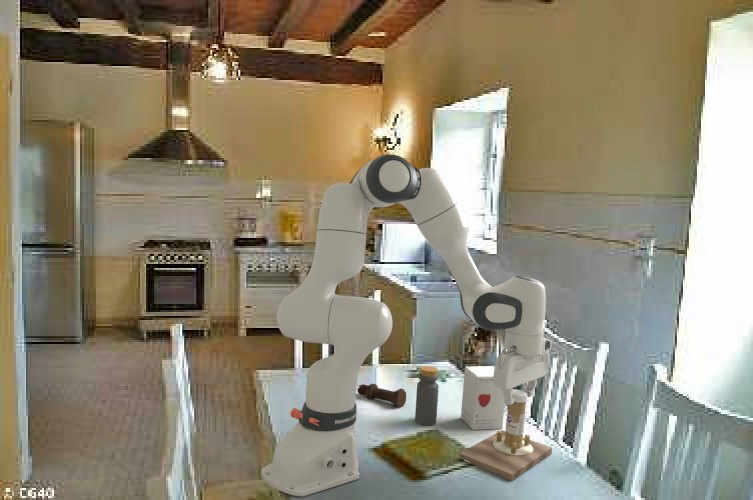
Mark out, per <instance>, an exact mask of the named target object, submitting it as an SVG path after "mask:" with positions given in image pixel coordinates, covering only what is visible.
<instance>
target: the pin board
mask: <svg viewBox="0 0 753 500" xmlns="http://www.w3.org/2000/svg"><path fill="white" fill-rule="evenodd" d="M505 432H506V430H504V429H501V430H498V431H497V432H496V433H494V434H492V435H490V436H489V437H487V438H485V439H483V440H481V441H479V442H477V443H476V444H474V445H472V446H471V447H468V448H466V449H465V450H462V451H461V452H459V456H460V457H461V458H463V459H465V460H467V461H469V462H470V463H471V464H470V463H469V464H470V465H472V466H475V467H477V468H479V469H482V470H484V471H487V472H490V473H491V474H494V475H497V476H499V477H502V478H504V479H506V480H508V481H514V480H516V479H517V478H519V477H520V476H521V475H523V474H525V473H526V472H527V471H529V470H531V469H532V468H533V467H535V466H536V465H538V464H539V463H540V462H542V461H543V460H545V459H546V458H548V457H549V456H550V455H552V454H553V447H552V446H548V445H546V444H542V443H540V442H537V441H534V440H531V435H530V434H524V437H523V440H522V443H523V445H522V446H521V447H519V448H516V447H517V444H516V443H512V445H511V447H509V446H507V445H506V444H505V443H504V440H505ZM459 456H458V457H459Z"/></svg>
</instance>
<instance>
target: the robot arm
mask: <svg viewBox="0 0 753 500" xmlns="http://www.w3.org/2000/svg"><path fill="white" fill-rule="evenodd" d="M395 204H399V205H402V206H403V207H405V209H407V211H408V212H409V213H410V215H411V217H412V219H413V220H414V222H415V225H416V226H417V228H418V230H419V231H420V233H421V235H422V236H423V238H424V239H425V240H426V242H427V243H428V244H429V245H430V246H431V247H432V249H434V251H435V252H436V253H437V254H438V255H439V256H440V257H441V259H443V261H444V263H445V265H446V266H447V268H448V270H449V272H450V274H451V276H452V277H453V279H454V281H455V284H456V286H457V288H458V290H459V301H460V306H461V311H462V312H463V314H464V315H465V316H466V317H467V318H468V319H470V320H471V321H473V322H474V323H475V324H476V325H477V326H479V327H480V328H482V329H483V330H488V331H499V330H505V337H504V348H503V349H502V351H501V353H500V354H499V355H498V356H497V358H496V360H495V363H494V364H495V365H494V367H495V368H494V375H493V384H494V386H495V387H497V388H500V389H502V391H503V394H504V403H505V405H507V406H508V405H512V404H513V403H514V397H512V391H513V390H514V388H516V387H519V386H521V385H524V384H526V383H527V384H526V387H525V388H524V392H526V393H527V398H530V397H534V395H535V389H536V386H537V384H538V379H540V378H542V377H545V376H546V375H547V372H548V371H549V370H548V369H549V363H550V350H551V349H552V344H553V343H552V340H551V339H548V338H546V337H544V335H545V334H544V333H545V332H544V326H543V323H544V320H545V317H546V308H547V307H546V306H547V305H546V304H547V301H546V300H547V297H546V296H547V294H546V288H545V285H544V283H542V282H541V281H540V280H538V279H536V278H532V277H528V276H525V275H513V276H512V277H511V278H509V279H508V280H507V281H505V282H503V283H499V284H497V285H495V286H493V285H492V284H490V283H489V282H487V281H486V280H485V279H484V278H483V276H482V275H481V274H480V272H479V269H478V267H477V266H476V264H475V261H474V259H473V258H472V255H471V254H470V252H469V249H468V245H467V242H468V241H467V240H468V235H469V231H470V230H469V225H468V221H467V217H466V215H465V213H464V210H463V208H462V205H460V202H459V201H458V199H457V197H456V196H455V194H454V192H453V190H452V189H451V188H450V186H449V185H448V184H447V182H446V181H445V179H444V178H443V177H442V176H441V174H439V172H438V171H437V170H436V169H435V168H431V167H422V168H418V167H416V166H414V165H413V164H412V163H410V162H409V161H408V160H406V159H405V158H404V157H401V156H400V155H397V154H390V153H387V154H383V155H379V156H378V157H376V158H374V159H371V160H369V161H367V163H365V164H364V165H363V166H362V167H361V168H360V169H359V170H358V171H357V172H356V173H355V175H354V176H353V177H352V179H351V180H350V182H349V183H348V182H338V183H334V184H332V185H331V186H329V187H328V188H327V189H326V190H325V192H324V194H323V199H322V200H321V204H320V205H321V206H320V209H319V213H318V219H317V220H318V221H317V228H316V238H315V247H314V254H313V259H312V263H311V267H310V269H309V272H308V274H307V275H306V277H305V279H304V280H303V281H302V283H301V284H300V285H299V286H298V287H297V288H296V289H295V290H293V291H292V292H291V293H289V294H288V295H286V296H285V297H284V298H283V299H282V301H281V302H280V303H279V305H278V307H277V310H276V311H277V312H276V323H277V326H278V329H279V330H280V332H281V334H282V335H283V337H287V338H290V339H293V340H296V341H300V342H304V343H313V344H323V345H330V346H334V353H333V354H331V355H329V356H326V357H324V358H321V359H319V360H317V361H314V363H313V364H311V365H310V367H309V368H308V370H307V373H306V388H305V401H304V403H303V406H302V409H301V410H300V409H297V408H296V407H294V408H292V409H291V411H290V413H289V414H290V417H291V418H293V419H296V420H298V422H297V423H296V424H295V426H294V427H292V429H291V430H289V432H288V433H287V434H286V435H285V436H284V437H283V438H282V439H281V441H279V443H278V444H277V445H276V446H275V448H274V450H273V451H274V452H273V454H272V462H270V463H269V464H268V465H265V466H264V467H262V468H261V470H260V476H261V478H262V479H263V480H264V481H265V483H267V484H268V485H269V486H271V487H272V488H275V489H276V490H278V491H280V492H282V493H284V494H288V495H290V496H296V497H306V496H309V495H313V494H315V493H318V492H321V491H322V492H323V491H325V490H328V489H331V488H334V487H337V486H340V485H344V484H346V483H350V482H353V481H355V480H358V479H359V478H360V471H359V467H360V461H359V459H358V458H359V457H358V453H357V452H358V451H357V440H356V439H357V438H356V431H355V430H356V429H355V423H356V421H357V415H358V413H357V410H358V409H357V403H356V392H357V385H358V384H357V383H358V376H359V372H360V370H361V367H362V364H363V363H364V361H365V360H366V359H367V357H368V356H369V355H370V354H371V353H372V352H373V351H374V350H376V349H378V348H379V347H381V346H382V345H383V344H385V342H387V340H388V339H389V337H390V335H391V333H392V331H393V330H392V329H393V317H392V313H391V310H390V309H389V307H388V305H387V304H386V303H385V302H382V301H379V300H375V299H372V298H369V297H365V296H352V295H351V296H350V295H340V294H336V289H337V287H338V285H339V284H340V283H341V282H344V281H347V280H348V279H352V278H354V277H355V276H357V275H358V274H359V273H361V271H362V270H363V268H364V265H365V255H366V245H367V244H366V243H367V230H368V220H369V216H370V213H371V211H373V210H377V209H378V210H379V209H381V208H387V207H391V206H394V205H395Z"/></svg>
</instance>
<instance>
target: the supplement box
mask: <svg viewBox="0 0 753 500" xmlns="http://www.w3.org/2000/svg"><path fill="white" fill-rule="evenodd" d="M494 368H495V365H494V366H493V365H489V366H486V365H485V366H483V365H482V366H479V365H478V366H477V365H476V366H465V367H464V374H463V375H464V376H463V387H462V399H461V411H460V418H461V419H462V420H463V421H464V422H465V423H466V425H467V426H468V427H470V428H471V429H472V430H473V431H478V430H479V431H481V430H497V429H498V430H500V429H501V430H503V426H504V415H505V405H506V404H505V403H504V394H503V391H502V389H500V388H497V387H495V386H494V384H493V375H494Z"/></svg>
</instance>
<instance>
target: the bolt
mask: <svg viewBox="0 0 753 500" xmlns="http://www.w3.org/2000/svg"><path fill="white" fill-rule="evenodd" d="M356 392H357V393H358V395H361V396H364V397H366V399H367V400H369V401H374V400H376V399H377V400H381V401H383V402H388V403H392V404H393V406H394V408H396V409H401V408H403V407H404V405H405V404H406V402H407V392H406V390H405V389H404V388H398V389H396V390H389V389H385V388H380V387H378V385H377V384H376V383H369V384H368V385H367V384H364V383H363V384H360V385H358V388H357V389H356Z"/></svg>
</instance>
